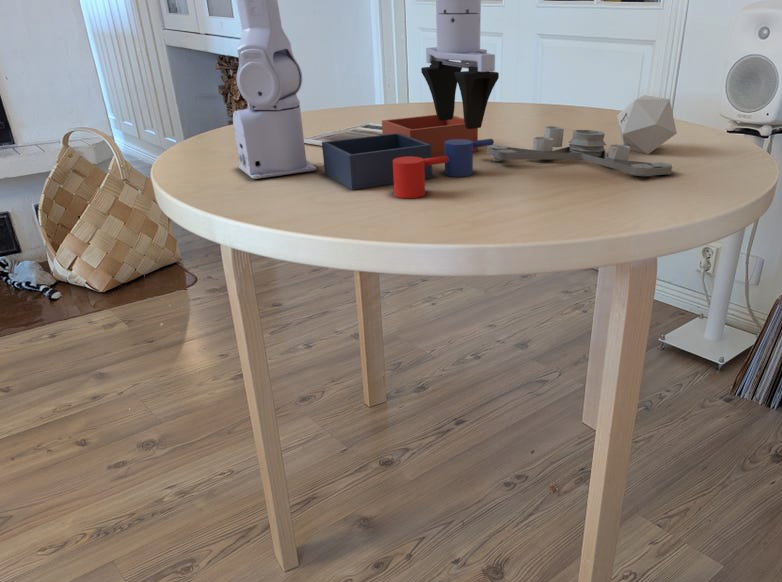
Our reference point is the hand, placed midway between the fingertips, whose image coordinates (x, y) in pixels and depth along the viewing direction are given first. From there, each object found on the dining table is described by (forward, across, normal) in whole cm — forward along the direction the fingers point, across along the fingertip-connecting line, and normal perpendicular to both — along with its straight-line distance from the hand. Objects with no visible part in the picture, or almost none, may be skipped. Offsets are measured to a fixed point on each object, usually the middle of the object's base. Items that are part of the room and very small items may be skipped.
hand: (458, 123), depth 92 cm
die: (+7, -3, -33) cm, 34 cm away
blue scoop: (+7, 0, -2) cm, 7 cm away
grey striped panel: (+7, +32, +2) cm, 33 cm away
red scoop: (+7, -6, +9) cm, 13 cm away
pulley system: (+7, -4, -19) cm, 21 cm away
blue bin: (+7, +5, +11) cm, 14 cm away
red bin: (+7, +16, -4) cm, 18 cm away
